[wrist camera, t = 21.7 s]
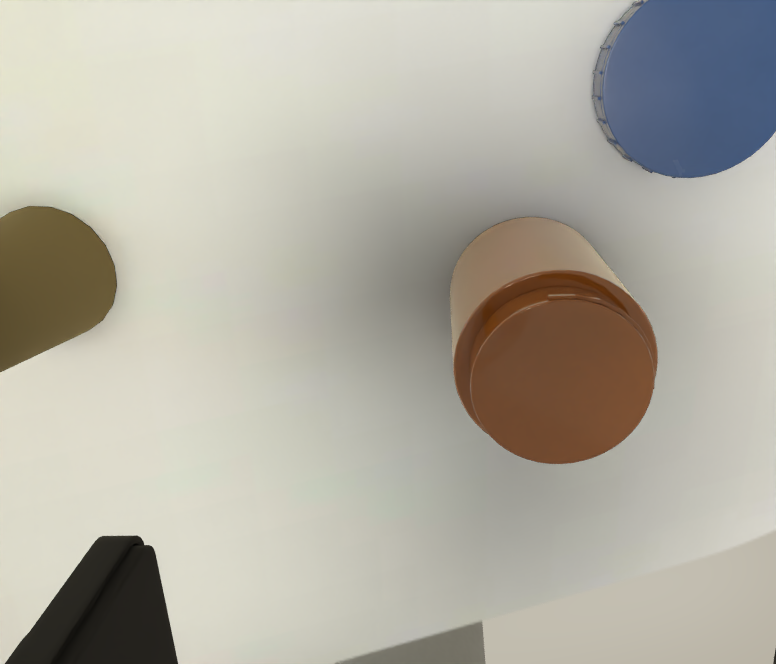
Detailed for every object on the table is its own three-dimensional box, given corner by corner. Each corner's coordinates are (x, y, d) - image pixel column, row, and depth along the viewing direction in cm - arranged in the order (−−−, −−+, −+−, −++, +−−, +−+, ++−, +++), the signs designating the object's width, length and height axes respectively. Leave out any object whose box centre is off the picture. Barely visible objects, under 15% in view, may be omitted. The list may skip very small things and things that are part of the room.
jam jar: (602, 359, 32) (664, 475, 23) (452, 365, 32) (458, 480, 24) (607, 211, 29) (679, 278, 21) (446, 221, 30) (449, 289, 21)
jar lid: (596, -16, 26) (606, -21, 25) (794, -28, 26) (817, -34, 24) (587, 176, 29) (596, 183, 27) (767, 169, 28) (787, 175, 27)
